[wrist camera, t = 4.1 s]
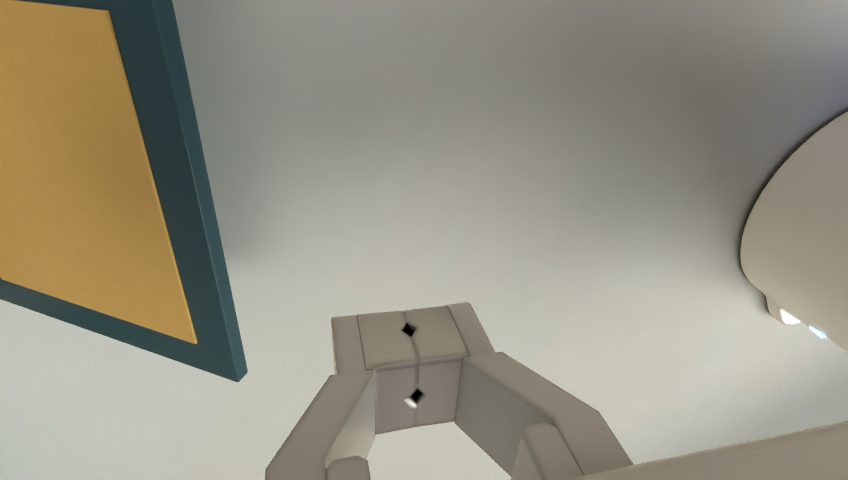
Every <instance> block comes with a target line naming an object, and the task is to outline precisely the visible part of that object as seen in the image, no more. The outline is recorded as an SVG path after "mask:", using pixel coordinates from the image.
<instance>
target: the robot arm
mask: <svg viewBox="0 0 848 480" xmlns="http://www.w3.org/2000/svg"><path fill="white" fill-rule="evenodd" d="M740 257H741V265H742V269H743V272H744V274H745V276H746V278H747V279H748V280H749V282H750V283H751V284H752V285H753V286H754V287H756V288H757V289H758V290H760V291H761V292H762V293H763V294H764V295H765V296H766V298H767V305H768V310H769V313H770V315H771V316H772V317H773V318H775V319H776V320H778V321H780V322H781V323H783V324H785V325H792V324H796V323H799V322H802V323H804V324H805V325H807V326H808V327H810V328H809V329H810V330H812V331H813V332H814V333H816V334H817V335H818V336H820V337H821V338H827V339H828V340H830V341H831V342H833V343H834V344H836V345H837V346H839V347H840V348H842V349H844V350H845V351H847V352H848V111H847V112H845V113H844V114H842V115H841V116H839V117H837V118H836V119H834V120H833V121H831V122H830V123H828V124H827V125H825V126H824V127H823V128H821V129H820V130H819V131H817V132H816V133H815V134H814V135H812V136H811V137H810V138H809V139H808V140H807V141H805V142H804V143H803V144H802V145H801V146H800V147H799V148H798V149H797V150H796V151H795V152H794V153H793V154H792V155H791V156H790V157H789V158H788V159H787V160H786V161H785V162H784V163H783V165H782V166H781V167H780V168H779V169H778V171H777V172H776V173H775V174H774V176H773V177H772V178H771V180H770V181H769V182H768V184H767V185H766V187H765V188H764V190H763V191H762V193H761V194H760V196H759V198H758V199H757V201H756V203H755V205H754V207H753V209H752V211H751V213H750V215H749V218H748V220H747V223H746V226H745V229H744V232H743V236H742V241H741V250H740ZM331 323H332V339H333V354H334V369H335V375H331V376H329V378H328V379H327V381H326V382H325V383H324V385H323V386H322V388H321V389H320V391H319V392H318V394H317V395H316V397H315V398H314V399H313V401H312V402H311V404H310V405H309V407H308V408H307V410H306V411H305V413H304V414H303V416H302V417H301V418H300V420H299V421H298V423H297V424H296V426H295V427H294V429H293V430H292V432H291V433H290V435H289V436H288V437H287V439H286V440H285V442H284V443H283V445H282V446H281V448H280V449H279V451H278V452H277V453H276V455H275V456H274V458H273V459H272V461H271V462H270V464H269V465H268V467H267V468H266V473H265V480H371V479H370V473H369V466H368V461H367V460H366V458H367V455H368V453H369V451H370V448H371V446H372V444H373V441H374V439H375V435H376V434H381V433H386V432H391V431H397V430H402V429H407V428H412V427H418V426H425V425H432V424H439V423H446V422H454V421H455V424H456V425H457V426H458V427H459V428H461V429H462V430H463V431H464V432H465V433H466V434H467V435H468V436H469V437H470V438H471V439H472V440H473V441H474V442H475V443H476V444H477V445H478V446H479V447H481V448H482V449H483V450H484V451H485V452H486V453H487V454H488V455H489V456H490V457H491V458H492V459H493V460H494V461H495V462H496V463H497V464H498V465H499V466H500V467H502V468H503V469H504V470H505V471H506V472H507V473H508V474H509V475H510V476H511V477H512V478H511V480H848V421H845V422H840V423H835V424H830V425H825V426H820V427H816V428H811V429H806V430H801V431H796V432H791V433H786V434H782V435H777V436H772V437H767V438H762V439H757V440H752V441H748V442H743V443H738V444H733V445H728V446H723V447H719V448H714V449H709V450H704V451H699V452H694V453H689V454H685V455H680V456H675V457H670V458H665V459H660V460H655V461H651V462H646V463H641V464H636V465H634V464H633V463H632V461H631V460H630V458H629V457H628V455H627V454H626V452H625V451H624V449H623V448H622V446H621V445H620V443H619V442H618V440H617V439H616V437H615V436H614V434H613V432H612V431H611V429H610V428H609V426H608V425H607V423H606V422H605V420H604V419H603V417H602V416H601V414H600V413H599V411H597V410H595V409H594V408H592V407H590V406H589V405H587V404H586V403H584V402H582V401H581V400H579V399H578V398H576V397H574V396H573V395H571V394H569V393H568V392H566V391H565V390H563V389H561V388H560V387H558V386H556V385H555V384H553V383H552V382H550V381H548V380H547V379H545V378H543V377H542V376H540V375H539V374H537V373H535V372H534V371H532V370H531V369H529V368H527V367H526V366H524V365H522V364H521V363H519V362H518V361H516V360H514V359H513V358H511V357H509V356H508V355H506V354H505V353H503V352H497V353H495V351H494V349H493V347H492V345H491V343H490V341H489V339H488V337H487V335H486V333H485V331H484V329H483V327H482V325H481V323H480V321H479V319H478V317H477V315H476V313H475V311H474V310H473V308H472V306H471V304H469V303H468V302H465V303H457V304H450V305H446V306H438V307H430V308H421V309H413V310H405V311H393V312H382V313H371V314H360V315H356V316H355V315H353V316H342V317H332V321H331Z"/></svg>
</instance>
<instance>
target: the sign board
mask: <svg viewBox="0 0 848 480" xmlns="http://www.w3.org/2000/svg"><path fill="white" fill-rule="evenodd" d="M0 299H2V300H5V301H8V302H10V303H13V304H16V305H19V306H22V307H25V308H28V309H30V310H33V311H36V312H39V313H42V314H45V315H47V316H50V317H53V318H56V319H59V320H62V321H65V322H67V323H70V324H73V325H76V326H79V327H82V328H84V329H87V330H90V331H93V332H96V333H99V334H102V335H104V336H107V337H110V338H113V339H116V340H119V341H121V342H124V343H127V344H130V345H133V346H136V347H139V348H141V349H144V350H147V351H150V352H153V353H156V354H159V355H161V356H164V357H167V358H170V359H173V360H176V361H178V362H181V363H184V364H187V365H190V366H193V367H196V368H198V369H201V370H204V371H207V372H210V373H213V374H215V375H218V376H221V377H224V378H227V379H230V380H233V381H235V382H239V381H240V380H241V379H242V378H243V377H244V376H245V375H246V373H247V366H246V361H245V356H244V351H243V346H242V341H241V336H240V331H239V327H238V322H237V317H236V312H235V307H234V302H233V297H232V292H231V287H230V282H229V277H228V272H227V268H226V263H225V258H224V253H223V248H222V243H221V238H220V233H219V228H218V223H217V218H216V214H215V209H214V204H213V199H212V194H211V189H210V184H209V179H208V174H207V169H206V164H205V160H204V155H203V150H202V145H201V140H200V135H199V130H198V125H197V120H196V115H195V110H194V105H193V101H192V96H191V91H190V86H189V81H188V76H187V71H186V66H185V61H184V56H183V51H182V47H181V42H180V37H179V32H178V27H177V22H176V17H175V12H174V7H173V2H172V0H0Z"/></svg>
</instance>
